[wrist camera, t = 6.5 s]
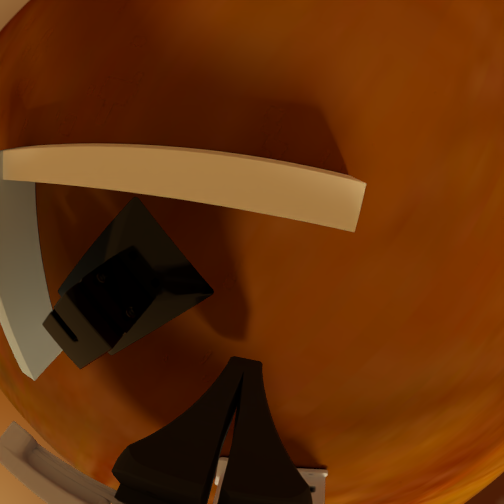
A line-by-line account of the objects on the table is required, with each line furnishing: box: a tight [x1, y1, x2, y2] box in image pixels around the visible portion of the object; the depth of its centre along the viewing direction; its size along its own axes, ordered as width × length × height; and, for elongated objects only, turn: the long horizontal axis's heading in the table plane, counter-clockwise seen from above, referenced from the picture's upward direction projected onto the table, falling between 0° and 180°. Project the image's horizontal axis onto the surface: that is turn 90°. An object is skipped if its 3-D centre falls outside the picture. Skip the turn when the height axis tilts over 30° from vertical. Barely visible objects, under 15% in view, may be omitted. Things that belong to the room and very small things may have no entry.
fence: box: [0, 143, 366, 381], centre depth 11 cm, size 18×14×4 cm
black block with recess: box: [42, 197, 214, 369], centre depth 12 cm, size 12×7×5 cm, turn 127°
